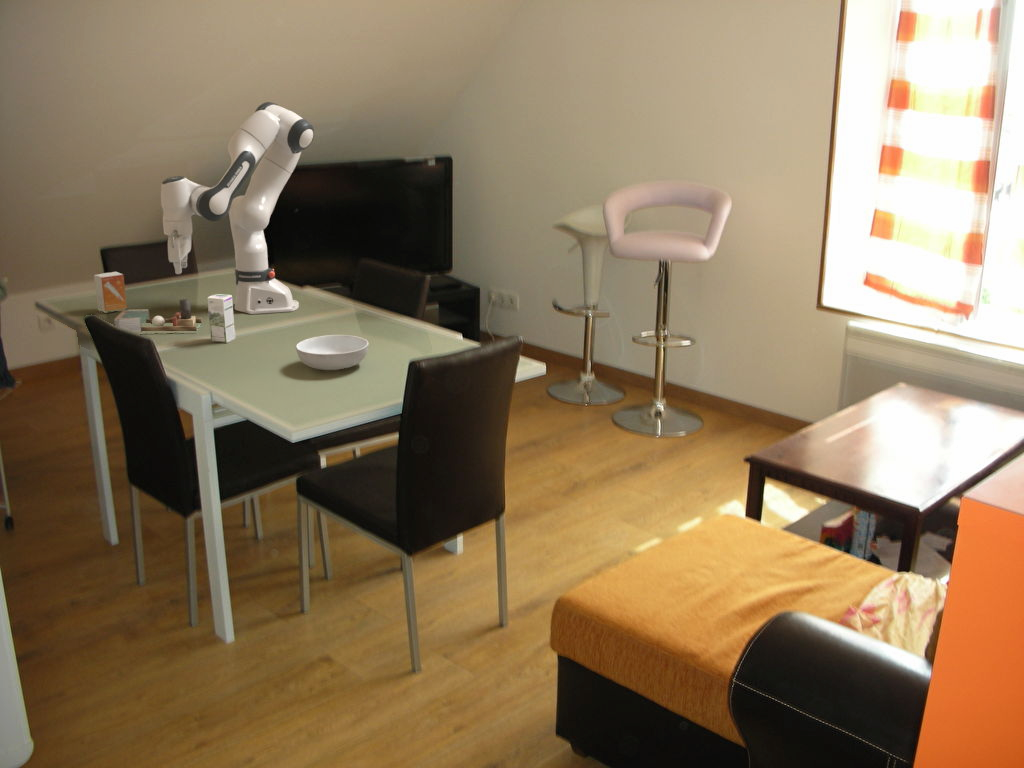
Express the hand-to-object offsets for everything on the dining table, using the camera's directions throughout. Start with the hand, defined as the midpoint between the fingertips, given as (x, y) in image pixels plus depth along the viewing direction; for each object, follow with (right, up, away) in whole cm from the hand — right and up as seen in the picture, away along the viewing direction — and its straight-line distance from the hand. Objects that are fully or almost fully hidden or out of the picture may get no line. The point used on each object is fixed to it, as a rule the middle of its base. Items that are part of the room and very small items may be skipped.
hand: (181, 270), depth 340 cm
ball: (-9, -16, +4) cm, 19 cm away
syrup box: (+16, -23, -7) cm, 29 cm away
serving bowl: (+55, -32, -33) cm, 72 cm away
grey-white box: (-17, -19, +4) cm, 26 cm away
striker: (0, -18, +6) cm, 19 cm away
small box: (-33, -11, +27) cm, 44 cm away
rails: (-5, -18, +5) cm, 20 cm away
